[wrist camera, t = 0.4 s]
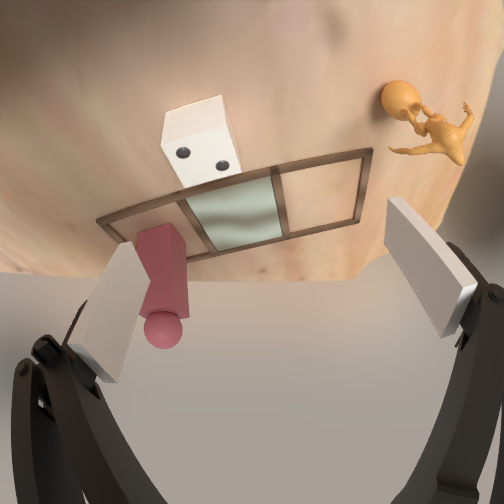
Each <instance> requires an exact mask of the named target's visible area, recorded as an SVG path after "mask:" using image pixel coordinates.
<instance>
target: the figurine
mask: <svg viewBox="0 0 504 504" xmlns="http://www.w3.org/2000/svg"><path fill="white" fill-rule="evenodd" d="M381 101H382V105H383V107H384V109H385V110H386V112H387V113H388V114H389V115H390V116H391V117H393V118H395V119H397V120H401V121H408V120H409V122H410V123H411V124H412V125H413V126H414V130H415V132H416V134H418V135H421V136H423V137H425V136H426V135H427V133H428V132H429V133H430V135H431V138H432V141H433V142H432V143H431V144H428V145H423V146H419V147H415V148H412V149H408V148H399V149H392V148H390V147H388V148H389V149H390V150H391V151H393V152H394V153H398V154H408V155H422V154H427V153H442V154H445V155H447V156H448V157H449V158H450V159H451V160H452V161H453V162H454V163H455V164H457V165H459V166H462V165H463V164H464V154H463V148H462V145H463V144H462V143H463V140H464V138H465V136H466V134H467V131H468V129H469V128H470V126H471V124H472V122H473V120H474V115H473V113H472V112H471V110H470V108H469V106H468V105H467V104H466V103H464V102H463V103H464V104H465V105H463V106H465V107H464V108H463V109H465V111H464V112H466V113H467V115H468V116H467V117H466V119H465V120H464V121H463V123H462V124H461V125H460V126H459V127H456V126H454V125H451V124H449V123H447V121H446V118H445V117H444V116H443V115H441V114H436V113H434V114H433V115H431V111H430V109H429V108H428V107H427V106H424V105H423V104H422V102H421V97H420V95H419V93H418V91H417V90H416V89H415V88H414V87H413V86H412V85H411V84H409V83H407V82H404V81H393V82H390V83H389V84H387V85H386V86H385V87H384V89H383V91H382V95H381ZM421 109H422V112H423V113H424V114H425V115H426V116H428V118H429V119H428V120H427V121H426V123H417V121H416V118H415V117H416V116H417V115H418V114H419V112H420V110H421Z"/></svg>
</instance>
